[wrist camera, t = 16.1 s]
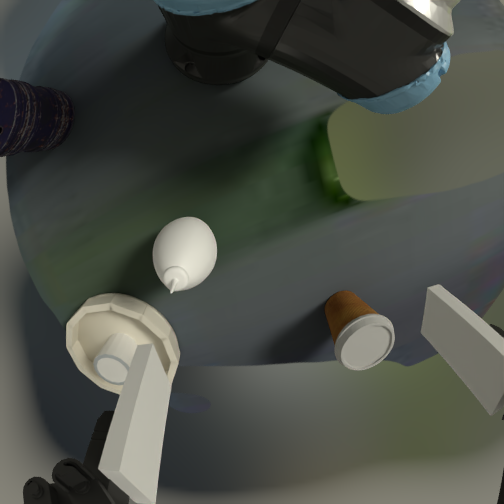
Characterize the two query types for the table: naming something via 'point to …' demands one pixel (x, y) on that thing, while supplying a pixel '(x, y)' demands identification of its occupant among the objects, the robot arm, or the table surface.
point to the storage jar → (32, 117)
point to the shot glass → (115, 358)
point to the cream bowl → (119, 321)
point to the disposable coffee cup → (358, 331)
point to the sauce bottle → (184, 253)
